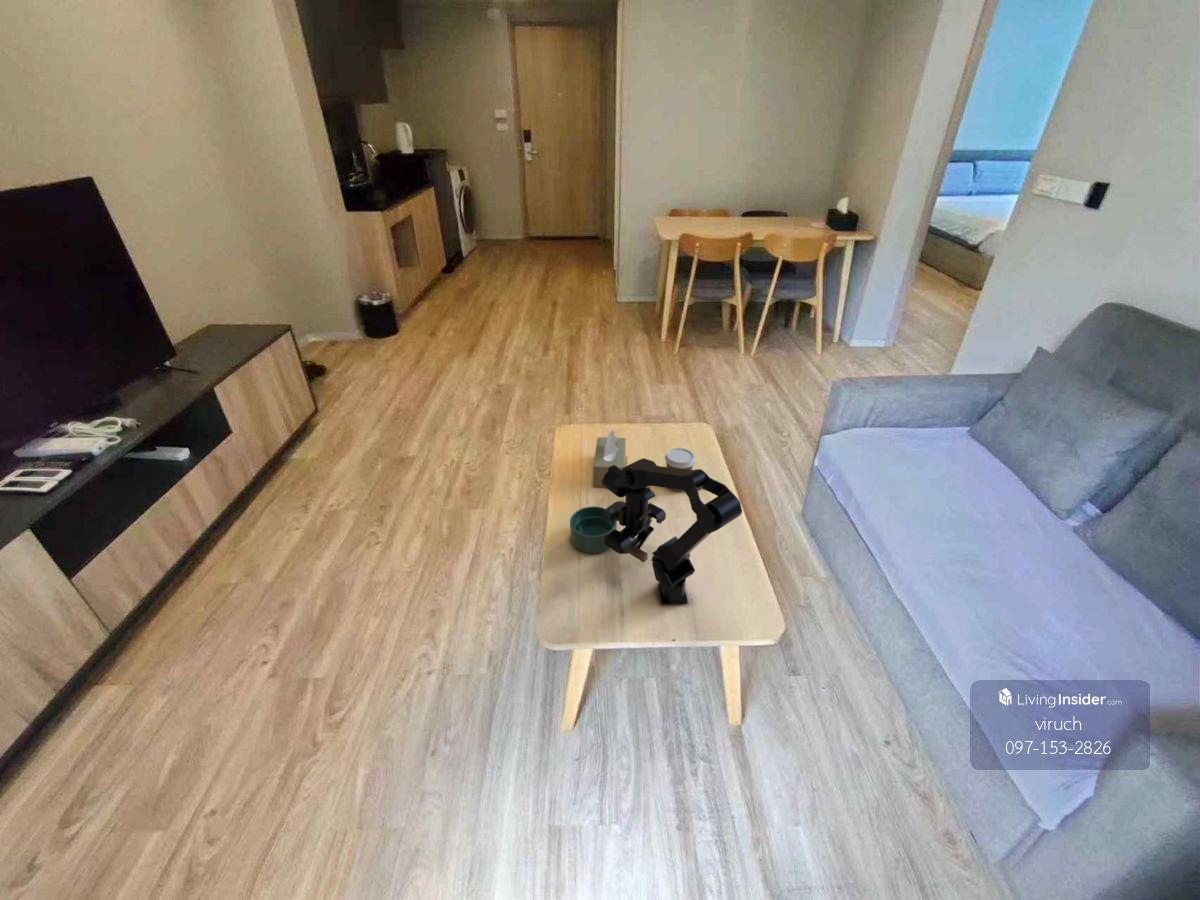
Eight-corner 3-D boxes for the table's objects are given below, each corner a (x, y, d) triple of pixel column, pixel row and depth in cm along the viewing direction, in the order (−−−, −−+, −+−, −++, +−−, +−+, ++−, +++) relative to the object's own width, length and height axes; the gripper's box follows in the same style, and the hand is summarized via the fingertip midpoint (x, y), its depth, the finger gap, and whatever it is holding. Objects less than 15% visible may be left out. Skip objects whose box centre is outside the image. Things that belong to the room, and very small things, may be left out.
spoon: (650, 557, 142) (650, 551, 140) (641, 565, 139) (641, 558, 138) (624, 542, 147) (624, 536, 145) (615, 549, 144) (615, 543, 143)
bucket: (618, 553, 147) (618, 535, 144) (570, 555, 147) (570, 537, 143) (614, 522, 158) (614, 505, 155) (570, 524, 158) (569, 507, 154)
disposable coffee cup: (698, 490, 171) (701, 459, 165) (671, 497, 168) (674, 466, 162) (683, 475, 178) (686, 444, 172) (657, 481, 176) (659, 450, 169)
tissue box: (623, 488, 172) (624, 447, 164) (593, 487, 173) (592, 446, 165) (625, 456, 188) (626, 417, 180) (597, 455, 189) (597, 416, 180)
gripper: (634, 476, 144) (633, 521, 152) (587, 509, 132) (588, 555, 141) (668, 493, 138) (665, 539, 146) (622, 529, 126) (621, 576, 134)
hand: (634, 551), depth 142 cm, fingers closed on spoon, 1 cm apart
